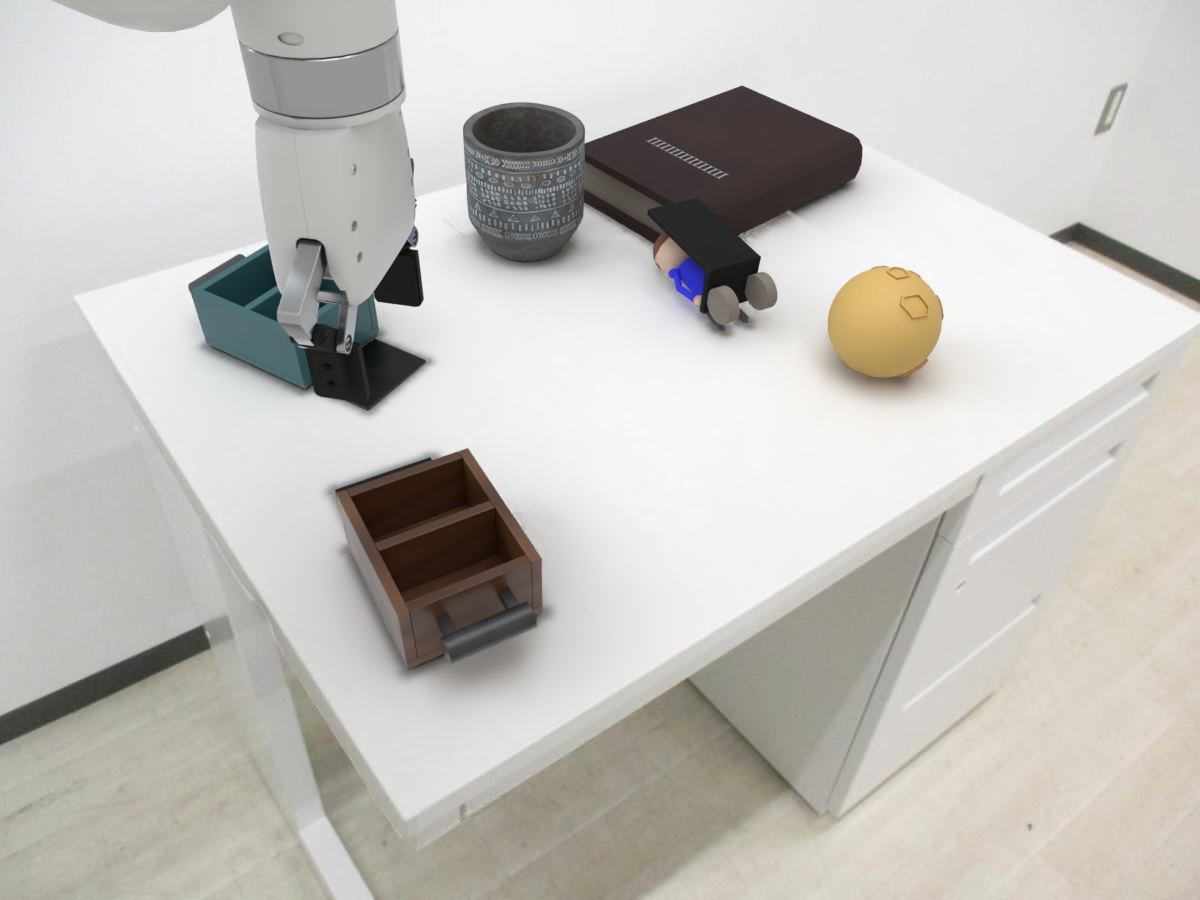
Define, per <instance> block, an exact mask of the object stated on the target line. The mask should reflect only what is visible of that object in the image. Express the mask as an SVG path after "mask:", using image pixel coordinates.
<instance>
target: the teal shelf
mask: <svg viewBox="0 0 1200 900" xmlns="http://www.w3.org/2000/svg"><path fill="white" fill-rule="evenodd" d="M187 289H188V291H189V294H190V296H191V298H192V302H193V305H194V308H195V312H196V315H197V317H198V320H199V321H198V322H199V324H200V326H201V330H202V333H203V336H204V339H205V343H206V344H207V345H208V346H211V347H213V348H215V349H217V350H220V351H221V352H224V353H226V354H228V355H230V356H232V357H235V358H237V359H239V360H241V361H243V362H246V363H248V364H250V365H252V366H254V367H257V368H259V369H261V370H263V371H265V372H267V373H269V374H272V375H274V376H276V377H278V378H280V379H282V380H285V381H287V382H289V383H292V384H293V385H296V386H297V387H299V388H302V389H307V388H308V387H309V386H311V385H312V381H311V376H310V372H309V368H308V363H307V359H306V355H305V351H304V348H300V347H298V345H297V344H294V343H292V342H291V341H290V339H289V336H288V334H287V332H286V331H285V330H284V329H283V328H282V326H281V325H280V324H279V322H278V321H277V310H278V307H279V304H280V301H281V298H282V294H281V293H280V291H279V289H278V286H277V282H276V279H275V274H274V270H273V265H272V260H271V255H270V250H269V245H268V243H267V244H266V245H264V246H262V247H260V248H259V249H257V250H255V251H253V252H252V253H251V254H249V255H247V256H245V255H244V254H242V253H238V254H236V255H233V257H231V258H229V259H228V260H226V261H224V262H222V263H221V264H219V265H217V266H216V267H214V268H212V269H210V270H209V271H208V272H205V273H203V275H201V276H199V277H198V278H196V279H194V280H193V281H191V282H189V283H188V285H187ZM319 290H325V291H332V292H340V293H344V291H340V289H339V288H338V286H337V285H336V283H335V281H334V280H330V279H323V280H322V283H321V286H320V289H319ZM339 309H340V305H337V304H330V303H322V302H319V308H318V317H317V318H318V319H317V321H318V322H319V324H326V325H328V326H330V327H333V328H335V329H337V326H338V318H339ZM379 333H380V328H379V320H378V314H377V308H376V300H375V297H374V293H372V294H371V296H370V297H369V298H367V299H366V300H365V301H364V302H362V303H361V304H359V305H358V308H357V316H356V324H355V332H354V341H355V342H358V343H361V346H363V345H364V344H366V343H367V342H368V341H370V340H372V338H373V337H375V336H376V335H377V334H379Z"/></svg>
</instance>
